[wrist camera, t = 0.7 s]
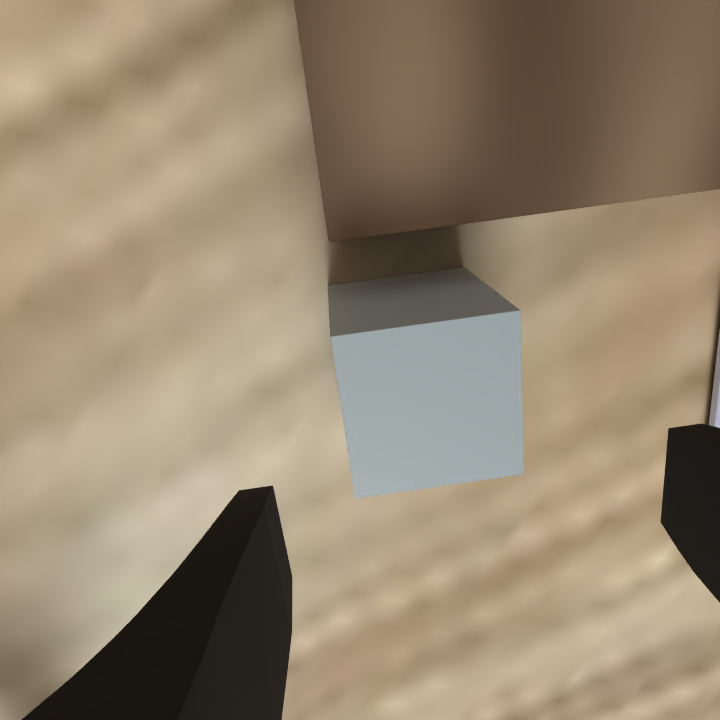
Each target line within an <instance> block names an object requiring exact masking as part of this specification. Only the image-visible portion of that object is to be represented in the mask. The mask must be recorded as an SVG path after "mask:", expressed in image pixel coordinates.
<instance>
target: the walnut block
mask: <svg viewBox="0 0 720 720" xmlns="http://www.w3.org/2000/svg"><path fill="white" fill-rule="evenodd" d="M294 3H295V10H296V17H297V24H298V31H299V38H300V45H301V52H302V59H303V66H304V73H305V79H306V86H307V93H308V100H309V107H310V114H311V121H312V128H313V135H314V142H315V149H316V156H317V163H318V170H319V177H320V184H321V191H322V198H323V205H324V212H325V219H326V226H327V233H328V240H329V242H335V241H342V240H349V239H357V238H364V237H371V236H379V235H386V234H393V233H401V232H408V231H415V230H423V229H430V228H437V227H445V226H452V225H459V224H467V223H474V222H481V221H489V220H496V219H503V218H511V217H518V216H525V215H533V214H540V213H547V212H554V211H562V210H569V209H576V208H584V207H591V206H598V205H606V204H613V203H620V202H628V201H635V200H642V199H650V198H657V197H664V196H672V195H679V194H686V193H694V192H701V191H708V190H716V189H720V0H294Z"/></svg>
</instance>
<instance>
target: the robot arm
mask: <svg viewBox="0 0 720 720" xmlns="http://www.w3.org/2000/svg"><path fill="white" fill-rule="evenodd" d="M661 523H662V525H663V527H664V528H665V530H666V531H667V533H668V534H669V536H670V538H671V539H672V541H673V542H674V544H675V545H676V547H677V549H678V550H679V551H680V553H681V554H682V556H683V557H684V559H685V560H686V562H687V563H688V564H689V566H690V567H691V569H692V570H693V572H694V573H695V574H696V575H697V576H698V578H699V579H700V580H701V581H702V582H703V584H704V585H705V586H706V587H707V588H708V589H709V590H710V592H711V593H712V594H713V595H714V596H715V597H716V599H717V600H718V601H719V602H720V331H719V339H718V348H717V357H716V366H715V375H714V383H713V392H712V401H711V410H710V419H709V425H706V424H696V425H689V426H682V427H675V428H669V430H668V441H667V453H666V465H665V477H664V489H663V501H662V513H661ZM291 635H292V574H291V569H290V564H289V560H288V555H287V550H286V545H285V541H284V536H283V531H282V527H281V522H280V517H279V512H278V508H277V503H276V498H275V494H274V489H273V486H267V487H260V488H253V489H246V490H239V491H238V492H237V494H236V495H235V496H234V497H233V499H232V500H231V501H230V502H229V504H228V505H227V506H226V507H225V509H224V510H223V511H222V513H221V514H220V515H219V517H218V518H217V519H216V520H215V522H214V523H213V524H212V526H211V527H210V528H209V530H208V531H207V532H206V533H205V535H204V536H203V537H202V539H201V540H200V541H199V542H198V544H197V545H196V546H195V547H194V549H193V550H192V551H191V552H190V554H189V555H188V556H187V557H186V559H185V560H184V561H183V562H182V563H181V565H180V566H179V567H178V568H177V570H176V571H175V572H174V573H173V574H172V576H171V577H170V578H169V579H168V580H167V581H166V582H165V583H164V584H163V586H162V587H161V588H160V589H159V590H158V591H157V592H156V593H155V595H154V596H153V597H152V598H151V599H150V600H149V601H148V602H147V604H146V605H145V606H144V607H143V608H142V609H141V610H140V611H139V613H138V614H137V615H136V616H135V617H134V618H133V619H132V620H131V621H130V622H129V623H128V624H127V625H126V626H125V627H124V628H123V629H122V630H121V631H120V632H119V633H118V634H117V635H116V636H115V637H114V638H113V639H112V640H111V641H110V642H109V643H108V644H107V645H106V646H105V647H104V648H103V649H102V650H101V651H99V652H98V653H97V654H96V655H95V656H94V657H93V658H92V659H91V660H90V661H89V662H88V663H87V664H86V665H85V666H84V667H83V668H81V669H80V670H79V671H78V672H77V673H76V674H75V675H74V676H73V677H72V678H70V679H69V680H68V681H67V682H66V683H65V684H63V685H62V686H61V687H60V688H59V689H58V690H56V691H55V692H54V693H53V694H52V695H50V696H49V697H48V698H47V699H46V700H44V701H43V702H42V703H41V704H40V705H39V706H37V707H36V708H35V709H34V710H33V711H31V712H30V713H29V714H28V715H27V716H26V717H24V718H23V719H22V720H281V719H282V711H283V703H284V694H285V686H286V678H287V670H288V661H289V653H290V644H291Z"/></svg>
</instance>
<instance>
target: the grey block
mask: <svg viewBox="0 0 720 720" xmlns="http://www.w3.org/2000/svg"><path fill="white" fill-rule="evenodd" d="M328 299H329V318H330V337H331V343H332V350H333V357H334V363H335V370H336V377H337V383H338V390H339V396H340V403H341V410H342V416H343V423H344V430H345V436H346V443H347V450H348V456H349V463H350V469H351V476H352V483H353V489H354V496H355V499H356V498H363V497H370V496H377V495H384V494H391V493H397V492H404V491H411V490H418V489H425V488H432V487H439V486H446V485H453V484H460V483H466V482H473V481H480V480H487V479H494V478H501V477H508V476H515V475H522V474H524V457H523V410H522V363H521V315H520V310H519V309H518V308H517V307H515V306H514V305H513V304H511V303H510V302H509V301H507V300H506V299H505V298H504V297H502V296H501V295H500V294H498V293H497V292H496V291H494V290H493V289H492V288H490V287H489V286H488V285H487V284H485V283H484V282H483V281H481V280H480V279H479V278H477V277H476V276H475V275H474V274H472V273H471V272H470V271H468V270H467V269H466V268H464V267H460V268H453V269H446V270H439V271H431V272H424V273H417V274H409V275H402V276H395V277H388V278H380V279H373V280H366V281H358V282H351V283H344V284H337V285H329V286H328Z"/></svg>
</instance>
